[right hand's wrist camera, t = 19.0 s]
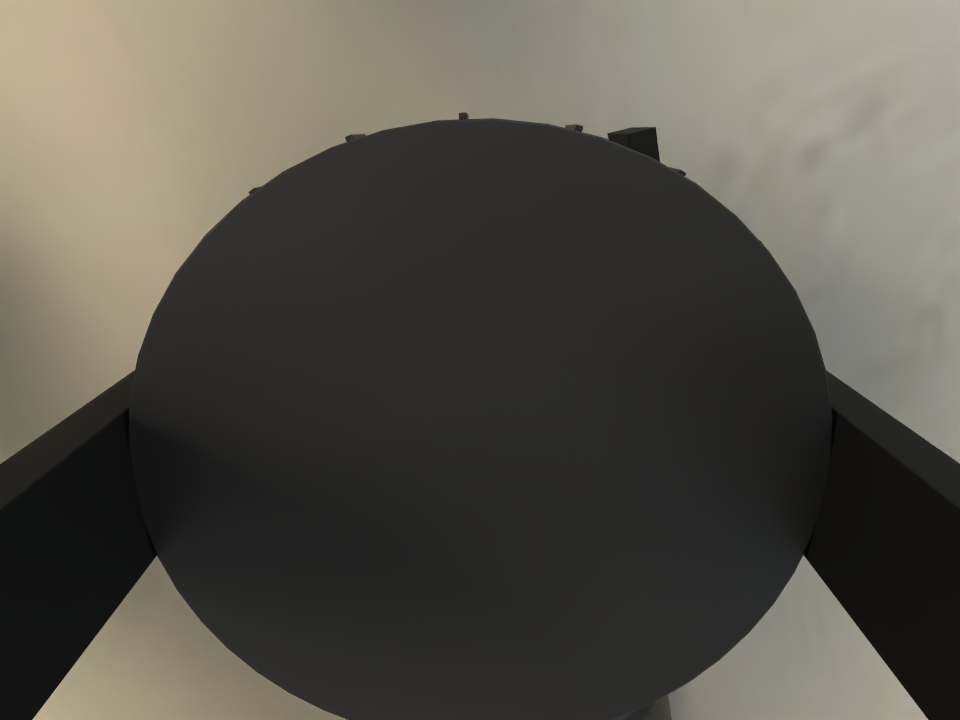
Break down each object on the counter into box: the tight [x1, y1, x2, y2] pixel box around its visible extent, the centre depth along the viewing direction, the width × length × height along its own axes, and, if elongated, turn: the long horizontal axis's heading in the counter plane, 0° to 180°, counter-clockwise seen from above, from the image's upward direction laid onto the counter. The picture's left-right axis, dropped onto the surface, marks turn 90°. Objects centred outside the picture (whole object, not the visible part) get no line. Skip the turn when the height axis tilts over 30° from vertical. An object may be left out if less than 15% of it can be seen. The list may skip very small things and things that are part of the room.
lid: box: [128, 113, 832, 720], centre depth 11 cm, size 11×11×2 cm
